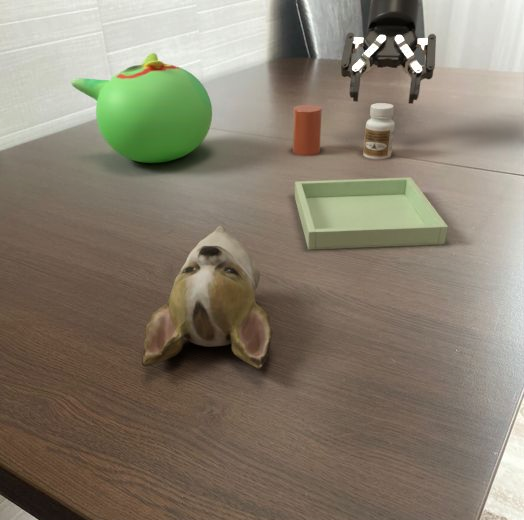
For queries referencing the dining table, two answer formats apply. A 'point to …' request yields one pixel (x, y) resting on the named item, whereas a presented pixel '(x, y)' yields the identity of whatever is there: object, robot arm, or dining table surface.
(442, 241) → the sage tray
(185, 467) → the dining table surface
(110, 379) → the dining table surface
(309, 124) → the terracotta cylinder
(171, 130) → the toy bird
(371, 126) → the pill bottle
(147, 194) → the dining table surface
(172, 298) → the ceramic sculpture
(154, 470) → the dining table surface
